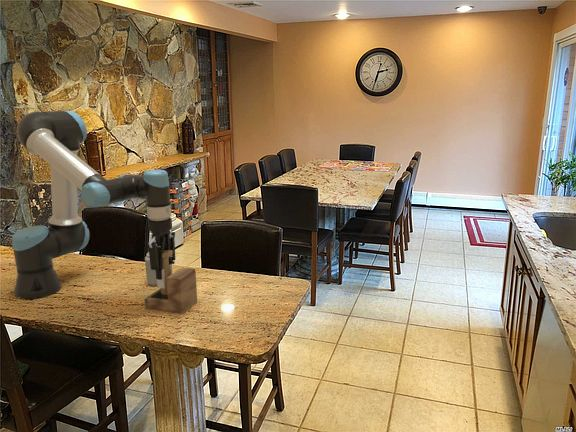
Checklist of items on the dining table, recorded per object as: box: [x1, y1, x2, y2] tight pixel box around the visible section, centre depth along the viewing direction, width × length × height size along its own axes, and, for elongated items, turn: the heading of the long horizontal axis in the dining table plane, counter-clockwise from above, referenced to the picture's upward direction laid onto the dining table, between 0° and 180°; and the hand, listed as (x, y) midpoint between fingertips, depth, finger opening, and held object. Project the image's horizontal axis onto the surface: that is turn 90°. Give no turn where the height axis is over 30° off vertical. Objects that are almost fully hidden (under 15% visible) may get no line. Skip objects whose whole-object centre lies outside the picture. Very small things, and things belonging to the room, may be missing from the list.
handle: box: [159, 250, 173, 295], centre depth 157 cm, size 5×6×15 cm
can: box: [144, 252, 157, 287], centre depth 177 cm, size 8×8×12 cm
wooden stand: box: [144, 266, 198, 315], centre depth 158 cm, size 14×10×12 cm
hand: (165, 284), depth 158 cm, fingers closed on handle, 4 cm apart
